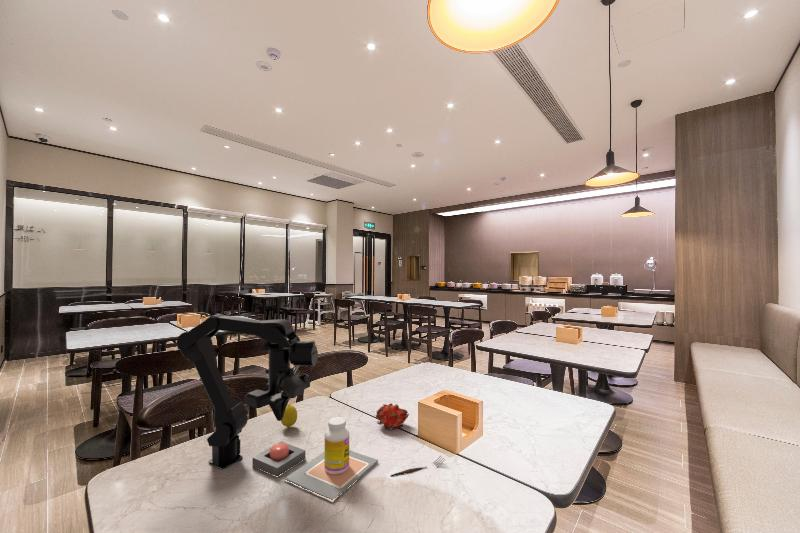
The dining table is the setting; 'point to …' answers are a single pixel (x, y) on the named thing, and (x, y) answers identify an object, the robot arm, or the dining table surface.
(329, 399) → the dining table surface
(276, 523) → the dining table surface
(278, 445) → the button
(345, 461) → the supplement bottle
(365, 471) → the picture board
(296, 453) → the button frame
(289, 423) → the lemon
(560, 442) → the dining table surface
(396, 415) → the dragon fruit
